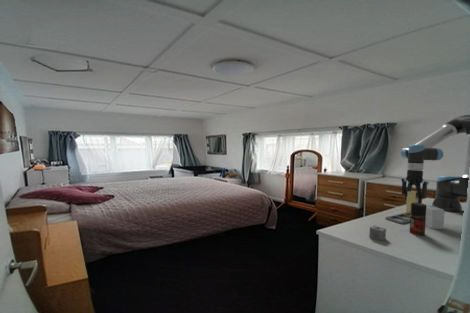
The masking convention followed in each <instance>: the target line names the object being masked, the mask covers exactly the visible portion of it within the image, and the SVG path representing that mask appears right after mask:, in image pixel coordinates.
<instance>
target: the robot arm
mask: <svg viewBox="0 0 470 313" xmlns="http://www.w3.org/2000/svg"><path fill="white" fill-rule="evenodd" d="M462 133H463V134H465V135H466V136H467V137H468V143H467V149H466V156H465V158H466V159H465V163H464V164H465V165H464V169H463V170H464V172H463V174H462V175H459V176H455V175H453V176H452V175H450V176H448V175H443V176H441V175H440V176H438V177H437V180H436V190H435V192H436V193H435V198H434V199H433V201H432V204H431V206H435V207H438V208H440V209H443V210H444V212H445V211H446V212H453V213H454V212H455V213H460V212H462V211H463V207H462V206H463V205H462V204H461V201H460V198H464V199H467V198H466V197H467V188H468V180H469V167H470V114H465V115H460V116H457V117H455V118H453V119H451V120H449V121H447V122H446V123H443V124H442V125H441V126H440V128H439V129H437V130H436V131H433V133H430V134H429V135H428V136H426V137H424V138H423V139H421V140H420V141H417V142H416V143H415V144H410V145H409V146H408V147H403V148H402V149H401V150H400V155H401V158H403V159H407V169H406V171H407V172H406V177H405V178H401V179H400V180H401V194H402V195H404V196H405V197H404V200H405V203H406V204H405V206H406V207H407V194H408V191H412V187H413V186H414V187H415V190H416V191H417V195H418V197H417V198H416V203H422V204H423V199H425V198H427V188H428V184H429V183H430V182H429V181H426V180H424V178H423V177H424V171H423V170H424V163H425V162H424V161H440V160H442V159H443V157H444V151H443V150H442V149H440V148H437V147H435V146H437V145H438V144H441V142H444V141H445V140H446V139H449V138H450V137H454V136H456V135H458V134H462ZM421 184H422V187H421ZM421 188H422V189H421Z"/></svg>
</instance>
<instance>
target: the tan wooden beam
mask: <svg viewBox="0 0 470 313" xmlns="http://www.w3.org/2000/svg"><path fill="white" fill-rule="evenodd" d="M417 197H418V195H417V190H416V191H415V190H411V191H408V194H407V206H406V211H405V212H406V213H407V214H411V203H416V198H417Z"/></svg>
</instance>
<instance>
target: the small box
mask: <svg viewBox="0 0 470 313" xmlns="http://www.w3.org/2000/svg"><path fill="white" fill-rule="evenodd" d="M444 224H445V210H443V209H440V208H438V207H435V206H432V205H427V206H426V222H425V227H428V228H430V229H433V230H434V229H435V230H437V229H438V230H444V227H445V226H444Z"/></svg>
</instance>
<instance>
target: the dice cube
mask: <svg viewBox="0 0 470 313" xmlns="http://www.w3.org/2000/svg"><path fill="white" fill-rule="evenodd" d="M386 237H387V228H385V227H381V226H379V225H373V226H370V227H369V238H370V239H374V240H376V241H379V242H382V241H385V239H386Z"/></svg>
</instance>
